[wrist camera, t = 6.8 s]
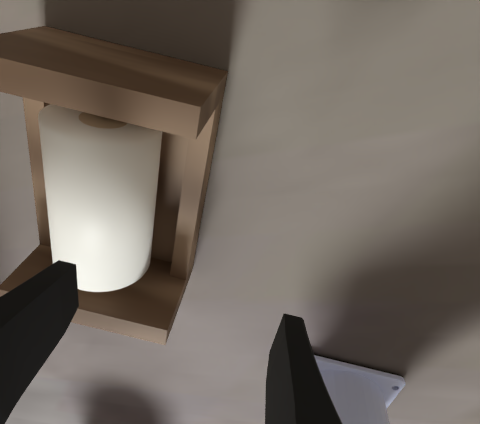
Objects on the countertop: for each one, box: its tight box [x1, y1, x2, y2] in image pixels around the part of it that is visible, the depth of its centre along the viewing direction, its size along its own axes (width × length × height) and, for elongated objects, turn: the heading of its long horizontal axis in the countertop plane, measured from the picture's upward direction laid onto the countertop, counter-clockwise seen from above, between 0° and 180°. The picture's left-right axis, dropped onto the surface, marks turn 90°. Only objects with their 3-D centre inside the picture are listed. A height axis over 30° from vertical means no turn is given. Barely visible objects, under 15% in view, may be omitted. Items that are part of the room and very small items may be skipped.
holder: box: [0, 26, 228, 345], centre depth 19 cm, size 13×9×6 cm
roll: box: [38, 104, 162, 292], centre depth 18 cm, size 8×5×5 cm, turn 168°
